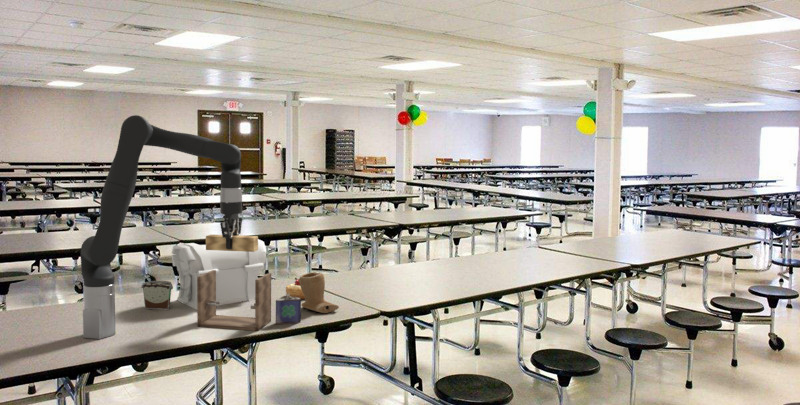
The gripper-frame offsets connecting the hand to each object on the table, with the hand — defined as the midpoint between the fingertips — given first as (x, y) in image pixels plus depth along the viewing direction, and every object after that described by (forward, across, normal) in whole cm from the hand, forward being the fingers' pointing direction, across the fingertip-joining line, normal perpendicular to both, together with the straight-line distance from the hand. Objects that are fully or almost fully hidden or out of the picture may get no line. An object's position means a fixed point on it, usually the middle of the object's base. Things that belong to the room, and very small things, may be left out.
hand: (231, 247), depth 218 cm
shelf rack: (+28, +1, +1) cm, 28 cm away
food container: (+28, -15, -37) cm, 48 cm away
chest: (+28, -31, -19) cm, 46 cm away
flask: (+28, -5, +19) cm, 35 cm away
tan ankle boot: (+29, -24, +24) cm, 44 cm away
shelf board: (+1, 0, 0) cm, 1 cm away
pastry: (+29, -43, +12) cm, 53 cm away
